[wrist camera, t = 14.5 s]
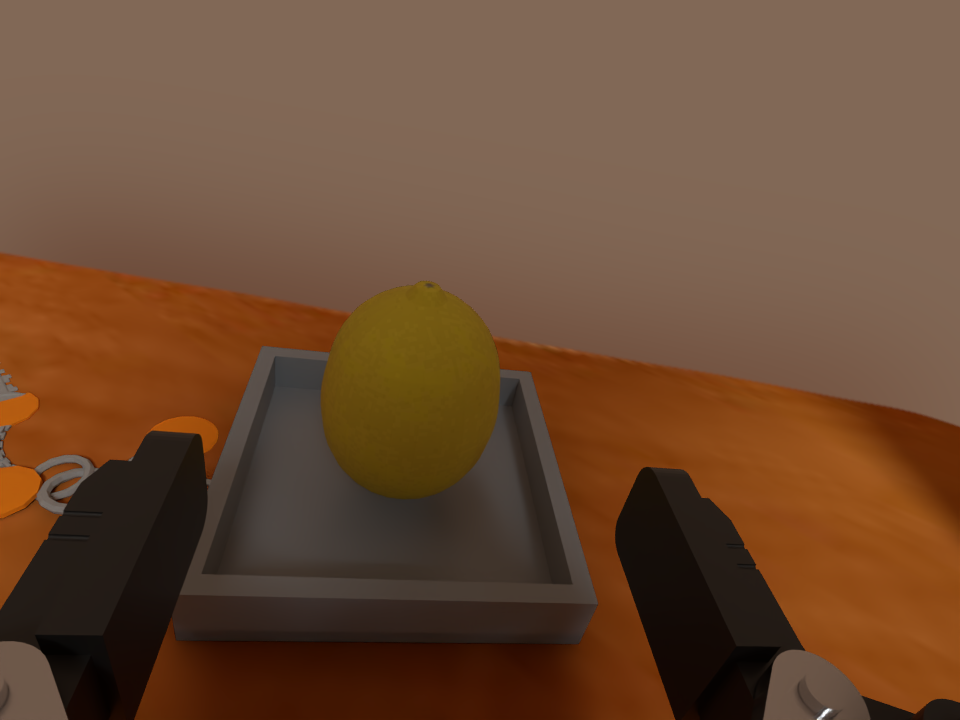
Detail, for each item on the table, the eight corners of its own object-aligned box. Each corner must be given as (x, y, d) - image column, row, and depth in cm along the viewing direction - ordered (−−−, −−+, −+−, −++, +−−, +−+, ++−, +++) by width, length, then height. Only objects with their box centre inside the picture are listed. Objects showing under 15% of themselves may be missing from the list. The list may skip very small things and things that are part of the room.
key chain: (293, 443, 23) (293, 426, 22) (175, 603, 17) (173, 585, 16) (-6, 358, 24) (-12, 340, 23) (-225, 481, 17) (-238, 460, 17)
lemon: (354, 576, 17) (378, 352, 13) (294, 454, 21) (298, 248, 17) (504, 519, 20) (565, 321, 16) (430, 421, 24) (462, 238, 20)
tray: (520, 407, 27) (530, 372, 26) (578, 644, 18) (598, 604, 16) (263, 385, 25) (262, 346, 24) (176, 640, 15) (167, 594, 14)
